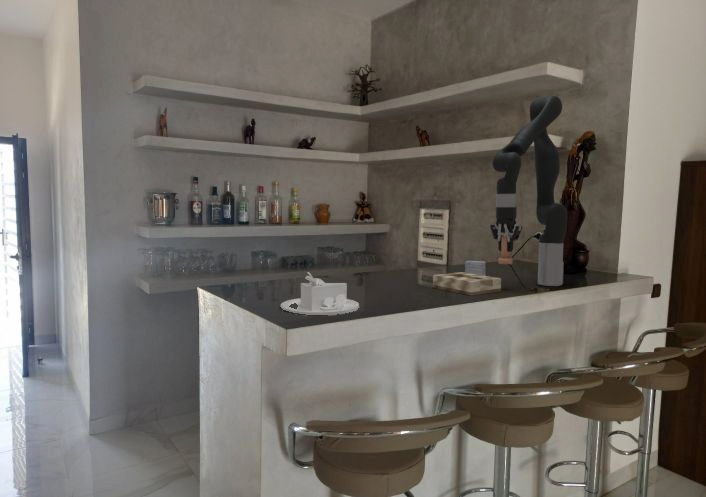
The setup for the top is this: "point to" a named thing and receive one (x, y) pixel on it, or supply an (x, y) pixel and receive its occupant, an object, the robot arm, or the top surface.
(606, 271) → the top surface
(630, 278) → the top surface
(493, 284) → the beige flat block
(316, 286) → the dish
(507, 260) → the peg
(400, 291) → the top surface
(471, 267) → the medicine box
